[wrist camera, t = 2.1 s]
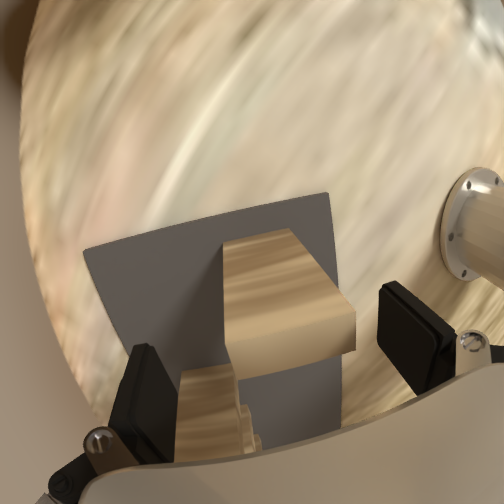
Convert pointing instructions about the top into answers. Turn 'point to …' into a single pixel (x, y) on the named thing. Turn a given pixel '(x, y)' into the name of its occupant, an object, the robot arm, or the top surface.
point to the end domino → (281, 306)
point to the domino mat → (219, 309)
